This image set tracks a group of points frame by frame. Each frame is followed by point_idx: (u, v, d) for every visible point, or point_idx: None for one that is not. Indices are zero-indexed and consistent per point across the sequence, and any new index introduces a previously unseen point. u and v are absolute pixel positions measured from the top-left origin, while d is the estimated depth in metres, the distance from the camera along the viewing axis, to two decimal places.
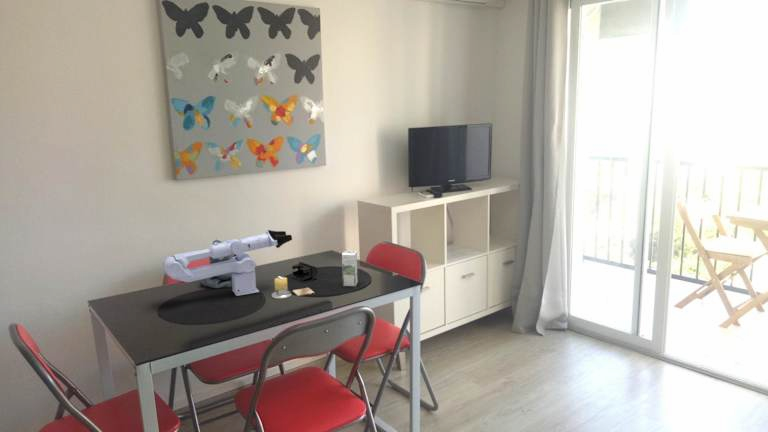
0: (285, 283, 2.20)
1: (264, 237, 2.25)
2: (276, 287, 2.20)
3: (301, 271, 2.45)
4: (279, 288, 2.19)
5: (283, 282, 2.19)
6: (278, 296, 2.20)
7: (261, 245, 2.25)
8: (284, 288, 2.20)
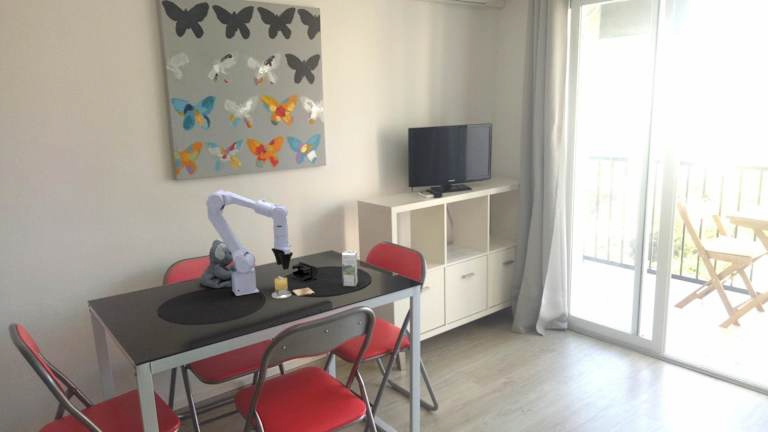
0: (285, 283, 2.20)
1: (287, 241, 2.23)
2: (276, 287, 2.20)
3: (301, 271, 2.45)
4: (279, 288, 2.19)
5: (283, 282, 2.19)
6: (278, 296, 2.20)
7: (280, 238, 2.21)
8: (284, 288, 2.20)
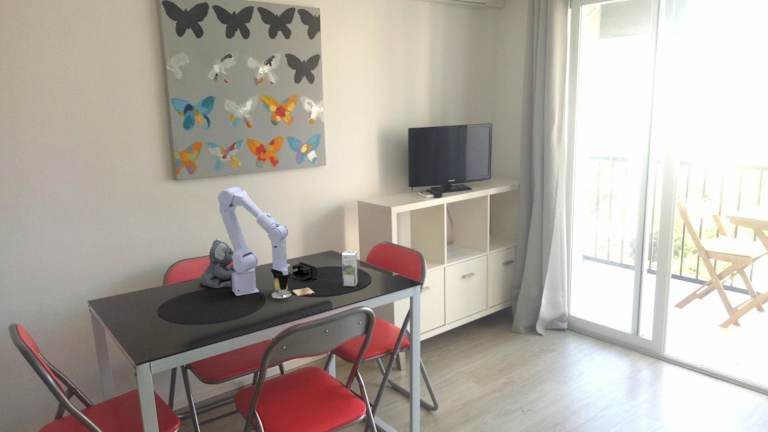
0: None
1: (286, 262, 2.19)
2: (276, 287, 2.20)
3: (301, 271, 2.45)
4: (279, 288, 2.19)
5: None
6: (278, 296, 2.20)
7: (279, 259, 2.17)
8: None
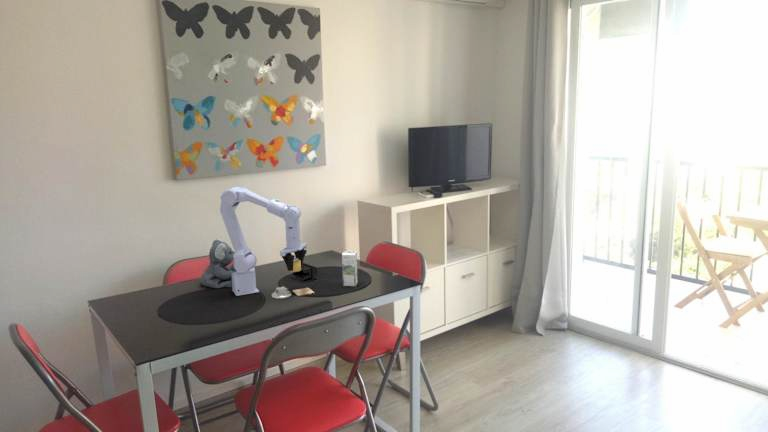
0: (293, 266, 2.20)
1: (294, 244, 2.18)
2: None
3: (301, 271, 2.45)
4: None
5: None
6: (278, 296, 2.20)
7: (287, 239, 2.18)
8: None
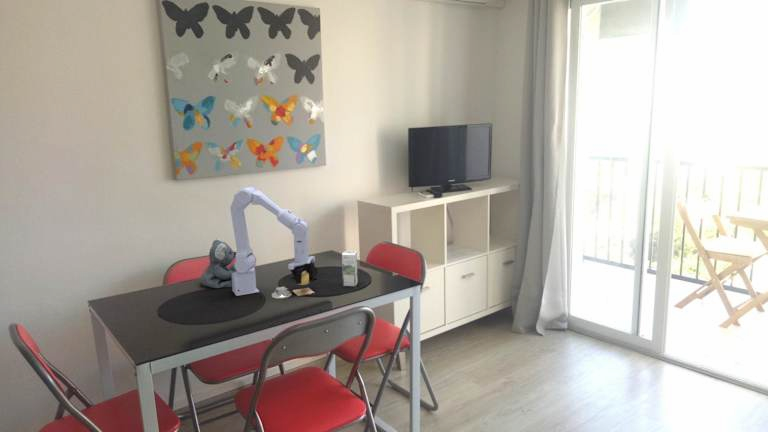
0: (301, 279, 2.22)
1: (302, 258, 2.20)
2: None
3: None
4: None
5: None
6: (278, 296, 2.20)
7: (295, 253, 2.21)
8: None
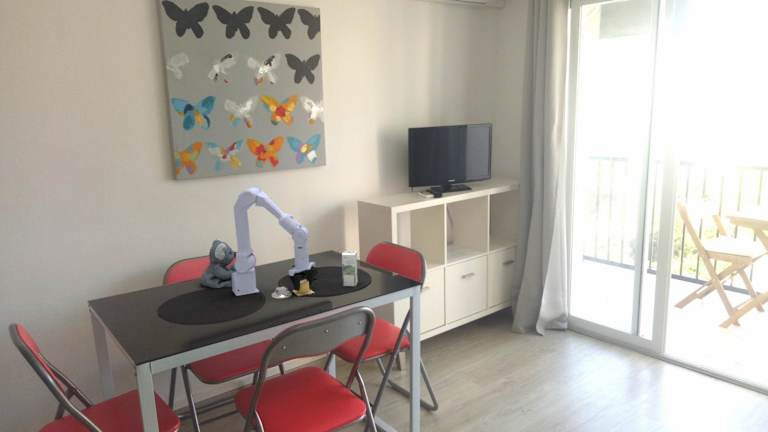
0: (302, 287, 2.23)
1: (302, 264, 2.21)
2: None
3: None
4: None
5: None
6: (278, 296, 2.20)
7: (295, 259, 2.21)
8: (300, 292, 2.23)
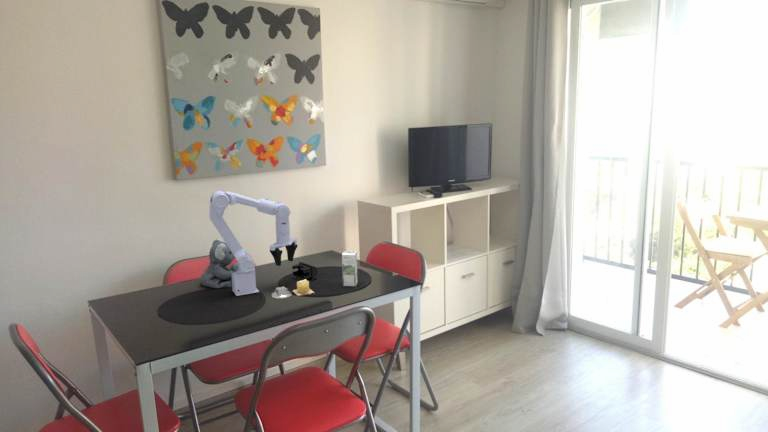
0: (302, 287, 2.23)
1: (283, 239, 2.27)
2: None
3: (301, 271, 2.45)
4: (297, 290, 2.24)
5: (299, 285, 2.23)
6: (278, 296, 2.20)
7: (276, 235, 2.27)
8: (300, 292, 2.23)
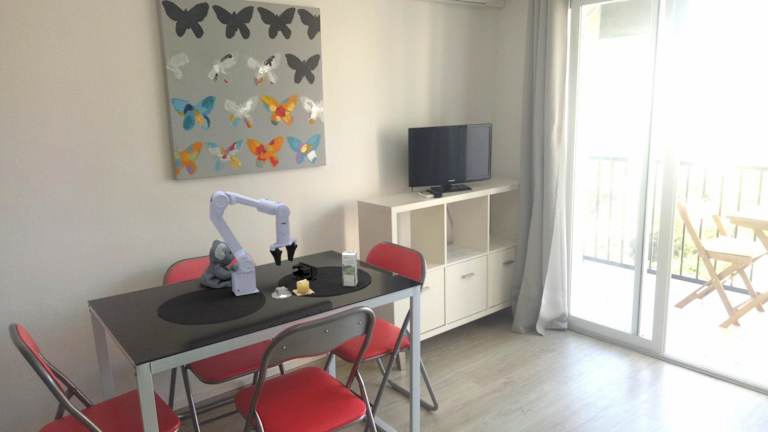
0: (302, 287, 2.23)
1: (283, 239, 2.27)
2: None
3: (301, 271, 2.45)
4: (297, 290, 2.24)
5: (299, 285, 2.23)
6: (278, 296, 2.20)
7: (276, 235, 2.27)
8: (300, 292, 2.23)
